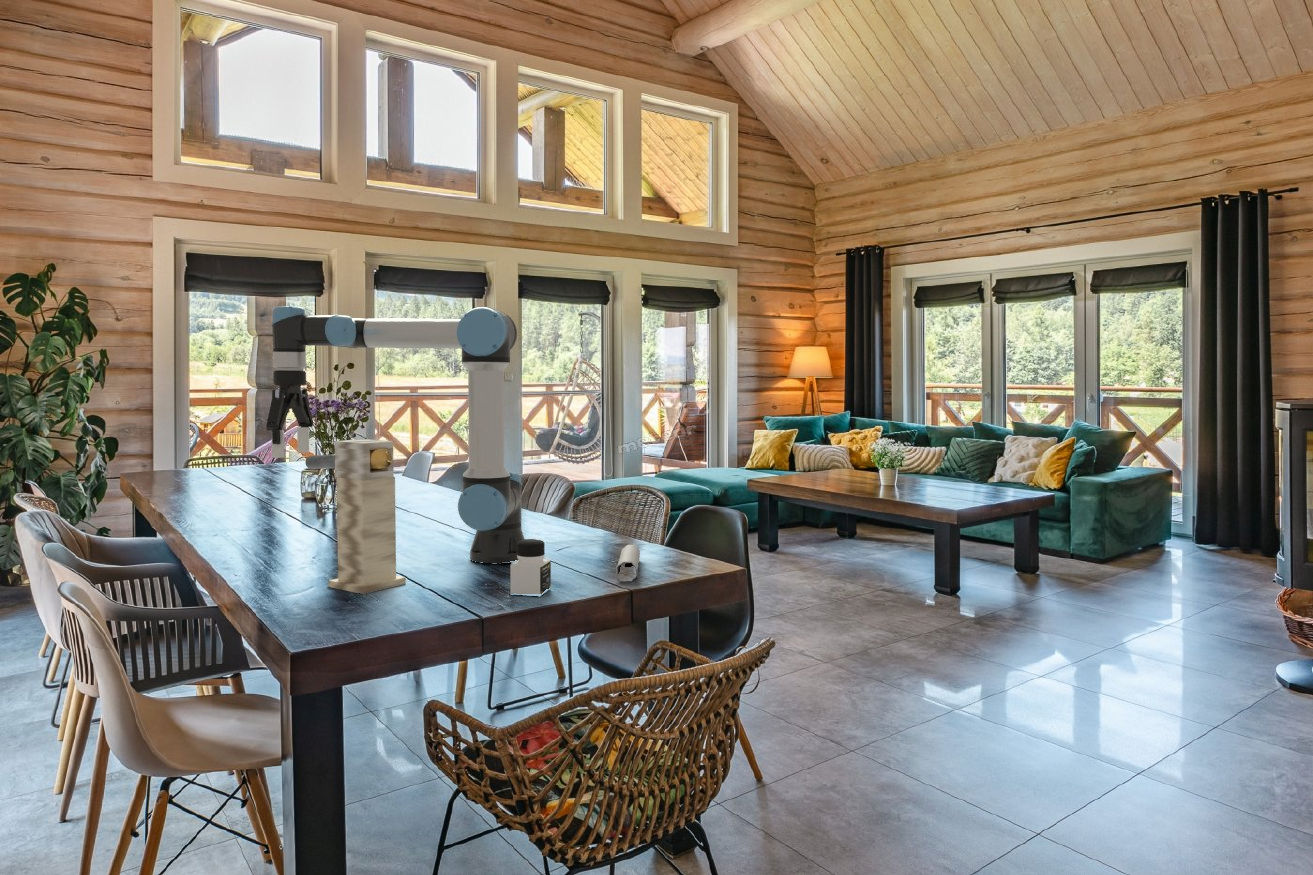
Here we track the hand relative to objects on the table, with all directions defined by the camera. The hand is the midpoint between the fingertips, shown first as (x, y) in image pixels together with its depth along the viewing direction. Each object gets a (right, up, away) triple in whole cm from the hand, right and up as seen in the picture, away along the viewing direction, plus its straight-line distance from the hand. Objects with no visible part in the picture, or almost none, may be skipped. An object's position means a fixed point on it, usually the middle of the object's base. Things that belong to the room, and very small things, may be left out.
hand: (291, 455), depth 220 cm
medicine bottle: (+63, -31, -22) cm, 73 cm away
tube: (+84, -29, +2) cm, 89 cm away
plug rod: (+19, -3, -15) cm, 25 cm away
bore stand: (+24, -30, -17) cm, 42 cm away
